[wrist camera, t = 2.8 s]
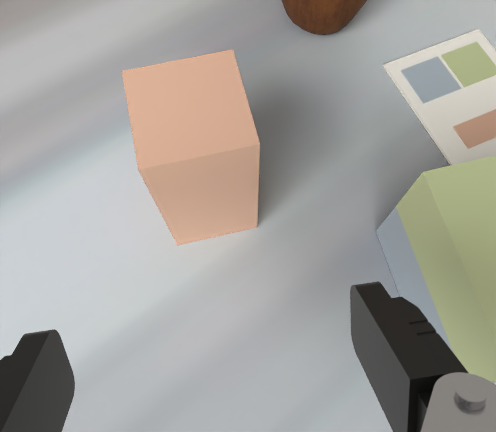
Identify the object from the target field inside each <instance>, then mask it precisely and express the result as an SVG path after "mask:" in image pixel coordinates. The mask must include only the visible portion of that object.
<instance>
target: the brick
mask: <svg viewBox="0 0 496 432" xmlns="http://www.w3.org/2000/svg"><path fill="white" fill-rule="evenodd" d="M122 75H123V81H124V87H125V93H126V99H127V105H128V111H129V117H130V123H131V129H132V135H133V141H134V147H135V153H136V159H137V165H138V170H139V172H140V174H141V176H142V178H143V180H144V182H145V184H146V185H147V187H148V189H149V191H150V193H151V195H152V197H153V199H154V201H155V203H156V205H157V207H158V209H159V211H160V212H161V214H162V216H163V218H164V220H165V222H166V224H167V226H168V228H169V230H170V232H171V234H172V236H173V238H174V239H175V241H176V243H177V245H182V244H186V243H191V242H195V241H199V240H204V239H208V238H212V237H217V236H221V235H226V234H230V233H234V232H239V231H243V230H247V229H252V228H256V227H257V221H258V191H259V161H260V142H259V138H258V135H257V131H256V128H255V124H254V121H253V117H252V114H251V110H250V107H249V104H248V100H247V97H246V93H245V90H244V86H243V83H242V79H241V76H240V72H239V69H238V65H237V62H236V58H235V55H234V51H233V49H231V50H226V51H221V52H216V53H211V54H206V55H200V56H195V57H190V58H185V59H180V60H175V61H170V62H165V63H160V64H155V65H150V66H145V67H139V68H134V69H129V70H124V71H122Z"/></svg>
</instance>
